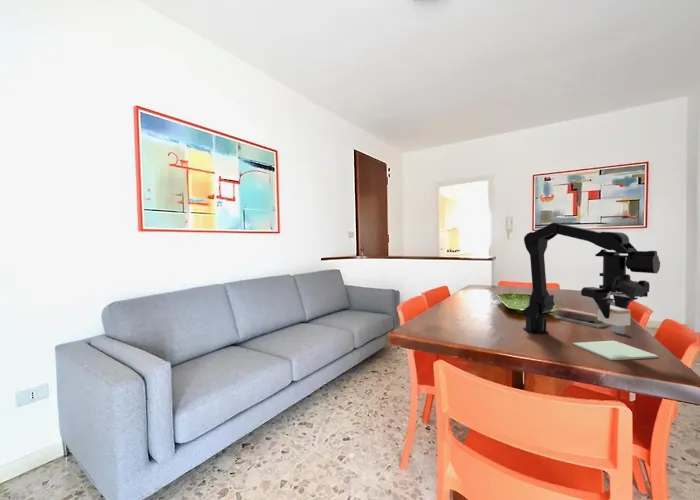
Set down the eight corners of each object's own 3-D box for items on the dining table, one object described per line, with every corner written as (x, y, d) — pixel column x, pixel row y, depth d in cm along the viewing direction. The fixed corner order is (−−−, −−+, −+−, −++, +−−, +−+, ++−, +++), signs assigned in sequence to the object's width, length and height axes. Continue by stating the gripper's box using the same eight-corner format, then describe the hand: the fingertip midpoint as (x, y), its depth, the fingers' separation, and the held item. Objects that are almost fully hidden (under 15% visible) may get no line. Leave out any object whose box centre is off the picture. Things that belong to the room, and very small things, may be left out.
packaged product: (553, 308, 142) (566, 306, 146) (553, 319, 142) (566, 316, 146) (598, 317, 126) (611, 314, 130) (598, 329, 126) (611, 326, 130)
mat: (611, 360, 94) (611, 358, 94) (573, 344, 108) (573, 342, 108) (657, 357, 95) (657, 355, 95) (614, 342, 109) (614, 340, 109)
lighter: (625, 334, 118) (625, 313, 118) (620, 334, 118) (621, 313, 118) (609, 328, 125) (609, 309, 125) (605, 328, 125) (605, 309, 125)
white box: (597, 320, 104) (597, 305, 104) (609, 319, 105) (609, 304, 105) (617, 325, 97) (617, 310, 97) (630, 325, 98) (630, 309, 98)
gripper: (611, 274, 91) (611, 326, 92) (667, 272, 93) (666, 323, 94) (580, 270, 103) (579, 316, 103) (630, 269, 105) (629, 314, 105)
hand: (613, 317), depth 101 cm, fingers closed on white box, 4 cm apart
